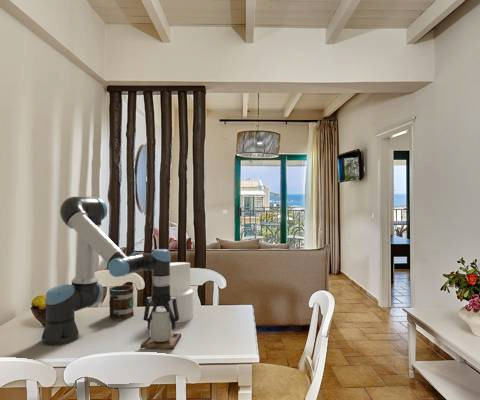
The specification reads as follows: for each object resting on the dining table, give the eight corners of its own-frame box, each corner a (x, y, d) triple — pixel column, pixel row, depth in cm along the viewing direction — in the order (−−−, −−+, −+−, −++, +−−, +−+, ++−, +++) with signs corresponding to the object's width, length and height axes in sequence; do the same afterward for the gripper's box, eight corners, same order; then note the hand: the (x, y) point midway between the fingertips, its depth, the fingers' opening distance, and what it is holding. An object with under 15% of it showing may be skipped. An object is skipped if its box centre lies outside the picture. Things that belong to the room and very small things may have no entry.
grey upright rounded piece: (166, 342, 155) (166, 314, 155) (148, 340, 157) (148, 313, 157) (173, 335, 163) (173, 308, 163) (156, 334, 165) (156, 307, 165)
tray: (140, 348, 154) (140, 344, 154) (151, 336, 168) (151, 332, 168) (173, 349, 152) (173, 345, 153) (181, 337, 166) (181, 333, 166)
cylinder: (154, 317, 196) (154, 264, 196) (181, 310, 207) (181, 261, 207) (171, 325, 183) (171, 269, 183) (199, 317, 194) (199, 265, 195)
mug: (115, 311, 206) (115, 284, 206) (138, 312, 204) (138, 285, 204) (98, 323, 186) (98, 293, 186) (123, 323, 185) (123, 294, 185)
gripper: (135, 286, 157) (135, 339, 157) (182, 287, 156) (182, 340, 156) (141, 282, 165) (141, 332, 165) (186, 283, 163) (186, 333, 163)
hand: (161, 336), depth 160 cm, fingers closed on grey upright rounded piece, 8 cm apart
